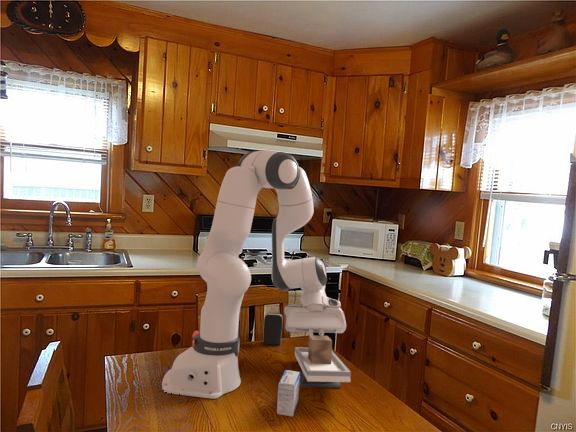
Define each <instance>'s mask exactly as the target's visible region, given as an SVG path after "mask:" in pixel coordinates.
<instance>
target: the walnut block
mask: <svg viewBox="0 0 576 432" xmlns="http://www.w3.org/2000/svg"><path fill="white" fill-rule="evenodd" d="M307 348H308V358H309V360H310V362H311V363H312V364H331V357H332V351H333V340H332V339H331V337H329V335H323V336H321V335H314V334H313V335H308V347H307Z"/></svg>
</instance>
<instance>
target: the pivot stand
mask: <svg viewBox="0 0 576 432" xmlns="http://www.w3.org/2000/svg"><path fill="white" fill-rule="evenodd" d="M297 372H300V382H299V386H300V387H301V388H328V389H329V388H330V389H331V388H333V389H334V388H336V389H337V388H339V389H340V388H342V384H341V382H315V381H307V380H306V378H305V375H304V373H303V371H302V370H298V371H297Z"/></svg>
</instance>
